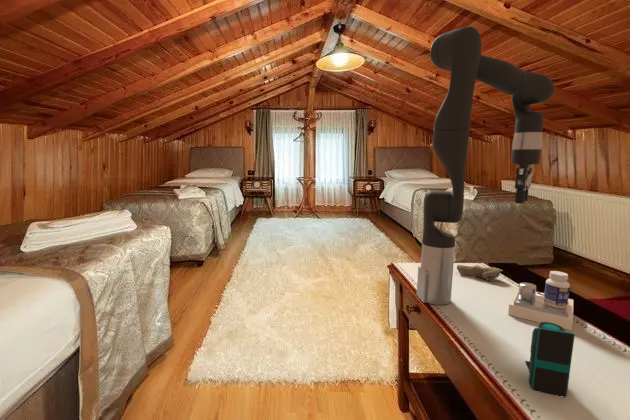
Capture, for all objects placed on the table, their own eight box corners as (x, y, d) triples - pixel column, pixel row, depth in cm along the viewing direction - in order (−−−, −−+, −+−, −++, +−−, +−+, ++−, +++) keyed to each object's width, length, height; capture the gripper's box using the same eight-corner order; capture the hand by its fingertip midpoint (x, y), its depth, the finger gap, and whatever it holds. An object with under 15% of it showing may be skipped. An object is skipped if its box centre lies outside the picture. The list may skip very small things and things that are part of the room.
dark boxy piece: (558, 311, 67) (576, 334, 57) (551, 366, 68) (567, 398, 59) (525, 306, 69) (538, 328, 59) (519, 360, 70) (530, 390, 61)
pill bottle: (560, 310, 86) (564, 277, 85) (539, 302, 91) (542, 271, 90) (571, 306, 89) (575, 274, 88) (550, 299, 94) (553, 269, 92)
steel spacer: (525, 301, 92) (527, 287, 91) (515, 296, 96) (516, 282, 95) (538, 300, 92) (539, 287, 92) (527, 295, 96) (528, 282, 96)
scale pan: (568, 317, 84) (568, 314, 84) (513, 304, 92) (513, 301, 91) (568, 304, 92) (569, 302, 92) (518, 293, 99) (518, 291, 99)
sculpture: (454, 278, 125) (499, 283, 116) (454, 265, 125) (499, 270, 116) (458, 274, 131) (502, 279, 122) (458, 262, 131) (502, 266, 122)
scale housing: (571, 330, 84) (573, 317, 83) (508, 314, 92) (509, 302, 92) (572, 309, 96) (573, 298, 96) (516, 297, 105) (517, 286, 104)
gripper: (539, 147, 92) (533, 205, 95) (543, 149, 103) (538, 201, 106) (508, 147, 97) (503, 203, 99) (515, 149, 108) (510, 199, 110)
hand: (521, 202), depth 102 cm, fingers open, 8 cm apart
